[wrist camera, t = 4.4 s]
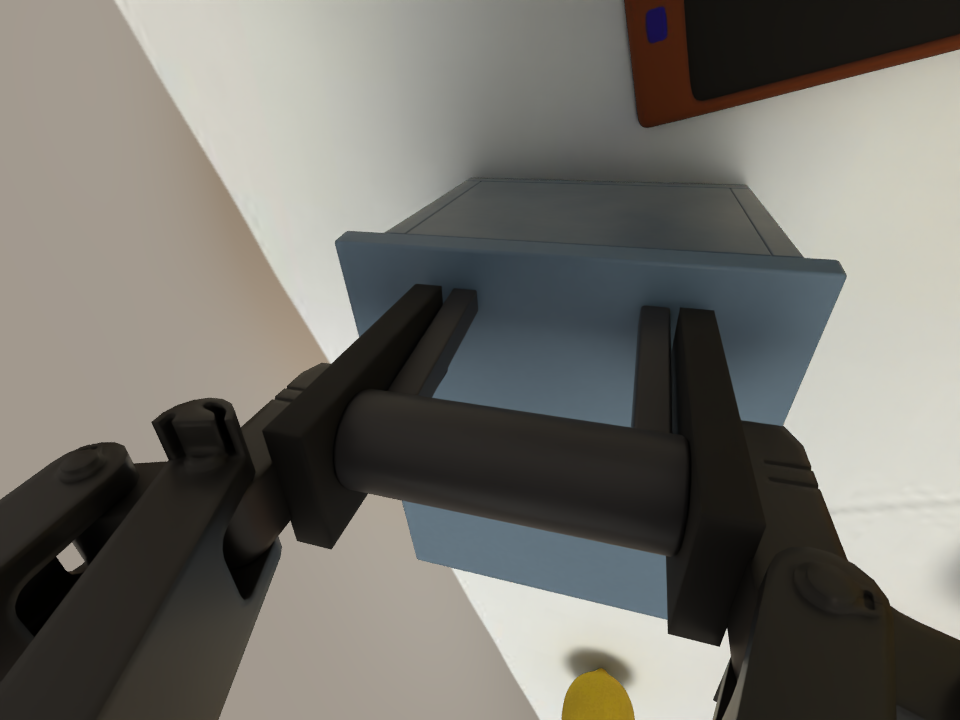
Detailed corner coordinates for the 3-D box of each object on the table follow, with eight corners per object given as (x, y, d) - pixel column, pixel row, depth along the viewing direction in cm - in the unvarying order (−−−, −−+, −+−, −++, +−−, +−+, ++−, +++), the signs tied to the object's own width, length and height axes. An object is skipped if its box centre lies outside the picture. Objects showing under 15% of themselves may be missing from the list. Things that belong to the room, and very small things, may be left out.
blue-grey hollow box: (470, 177, 25) (383, 232, 17) (747, 184, 22) (805, 257, 13) (479, 426, 33) (422, 545, 25) (683, 459, 29) (695, 608, 21)
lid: (346, 229, 15) (154, 390, 9) (839, 258, 11) (1004, 537, 6) (422, 545, 25) (353, 712, 19) (695, 609, 21) (707, 833, 16)
